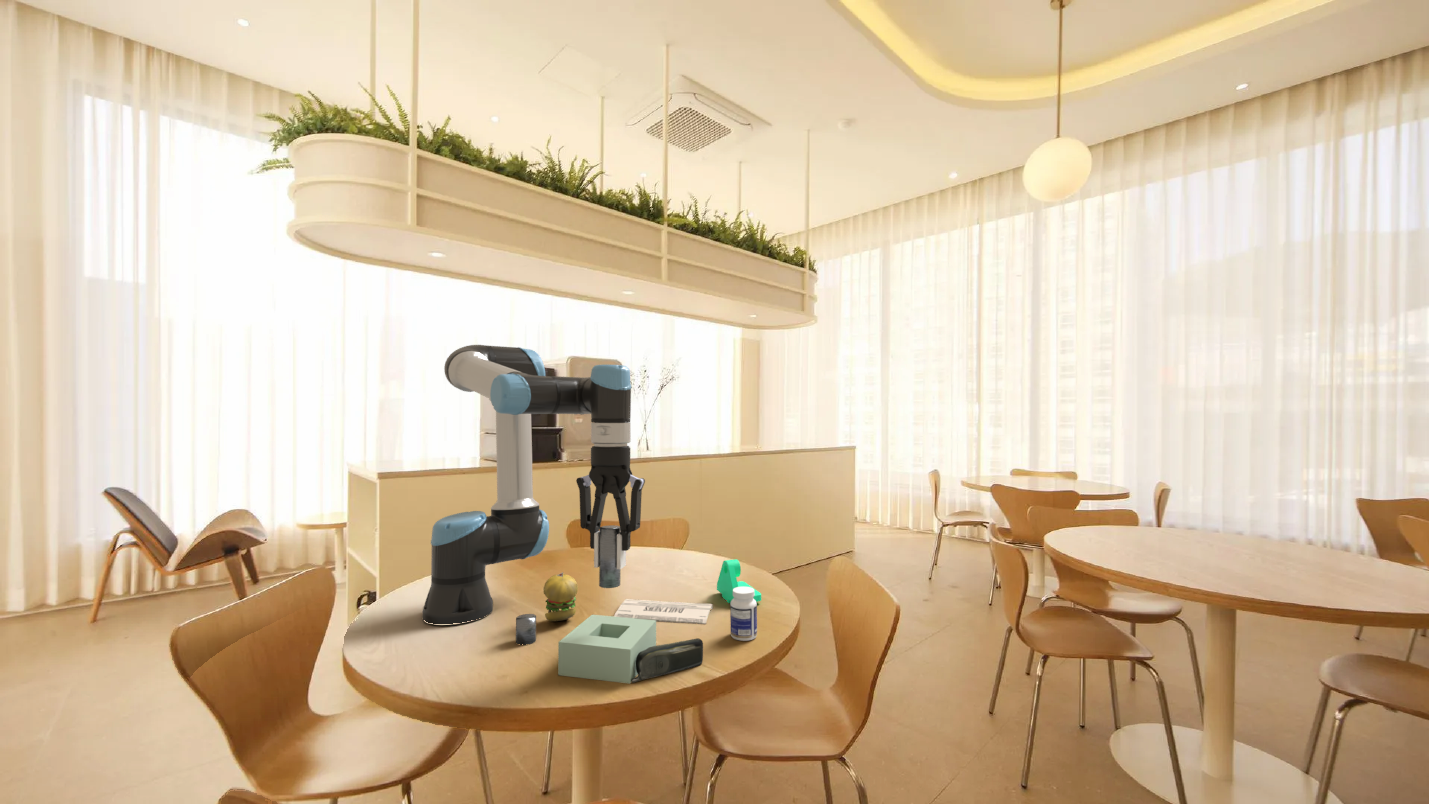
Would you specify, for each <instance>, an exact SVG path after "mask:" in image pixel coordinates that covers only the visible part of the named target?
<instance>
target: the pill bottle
mask: <svg viewBox="0 0 1429 804" xmlns="http://www.w3.org/2000/svg"><path fill="white" fill-rule="evenodd" d="M751 587H752V586H751ZM751 587H736V588H734V589H733V597H734V599H732V601H731V603H730V604H729V605H730V608H729V609H730V613H729V614H730V617H729V618H730V621H729V622H730V636H731V638H732V639H734V640H736V641H742V642H748V641H752V640H754V639H756V637H757V636H758V605H757V604H758V603H757V602H756V601H755V599H753V597H754V596H755V593H754V589H755V588H754V587H753V588H754V589H753V588H751Z"/></svg>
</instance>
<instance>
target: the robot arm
mask: <svg viewBox="0 0 1429 804" xmlns="http://www.w3.org/2000/svg"><path fill="white" fill-rule="evenodd" d="M542 359H543V358H542V357H541V356H540V355H539V353H537V351H536V350H533V349H529V348H522V347H519V346H518V347H514V346H513V347H512V346H500V345H499V346H498V345H497V346H496V345H487V344H486V345H485V344H470V345H465V346H463V347H459V348H457V349H455V350H454V351H453V352H452V353H450V354H449V355H448V357H447V358H446V360H445V363H444V368H443V369H444V375H445V378H446V380H447V381H448V383H449V384H450V385H452V386H453V387H454V388H456V389H458V390H460V391H462V392H466V393H471V392H475V393H477V394H479V395H481V396H483V397H485V398H487V399H488V400H489V402H491V403H490V404H491V405H492V406H493V409H494V411H495V437H496V438H495V440H496V441H495V444H496V445H495V446H496V447H495V448H496V451H495V452H496V489H497V490H496V493H497V494H496V496H497V500H496V502H495V503H494V504H493V505H491V507H490V515H488V516H487V515H486V512H484V511H481V510H473V511H463V512H458V513H454V514H451V515H447V516H445V517H442V518H440V519H438V520H437V521H436V522H435V523H434V524H433V525H432V531H431V540H430V545H431V574H430V575H431V577H430V579H431V582H430V583H431V584H430V587H429V590H428V593H427V596H426V599H425V602H424V605H423V607H422V616H421V617H422V618H423V620H425V621H426V622H428V623H433V624H453V623H462V622H467V621H471V620H476V619H479V618H482V619H484V618H485V617H484V616H486V615H488V616H489V615H490V614H491V613H492V612H493V610H494V604H493V603H494V602H493V597H492V596H491V595H492V594H491V592H490V588H489V585H488V583H487V580H486V567H487V566H489V565H495V564H499V563H500V564H501V563H504V562H510V561H515V560H526V559H527V558H531V557H535V556H537V555H540V553H541V552H542V551H544V548H545V547H546V545H547V542H548V539H549V536H550V535H549V533H550V521H549V520H548V515H547V512H545V510H543V509H540V502H538V501H537V500H535V498H534V491H533V489H534V488H533V483H534V482H533V446H532V445H533V442H532V440H533V439H532V438H533V437H532V434H533V433H532V415H537V414H538V415H539V414H540V415H542V414H543V415H544V414H545V415H590V427H591V428H590V442H591V444H593V446H591V447H590V467H591V469H590V470H589V472H588V474H587V475H585V476H580V477H577V478H576V481H575V482H576V485H577V487H578V490H579V520H580V521H579V523H580V528H581V529H585V530H587V531H588V532H589V547H590V549H593V564H594V565H593V568H597V569H599V541H600V527H602V526H601V524H602V519H603V515H604V510H605V505H606V499H607V497H608V494H612V496H613V497H612V498H613V499H614V501H615V508H616V512H617V517H618V523H619V526H620V530H621V532H619V534H617V569H620V570H621V569H623V568H625V566H627V551H629V550H630V548H631V533H632V532H635V531H636V530H638V529H640V527H641V514H642V513H641V511H642V495H643V493H642V492H643V491H642V490H643V488H644V486H645V483H646V479H644V478H643V477H641V478H639V477H637V476H635V475H633V472H632V470H631V446H629V445H628V444H630V443H631V410H632V409H631V408H632V407H631V403H632V383H631V370H630V368H629V367H628V366H626V365H622V364H596V365H594V366H593V367H592V369H591V372H590V373H591V374H590V377H589V376H588V377H579V376H578V377H577V376H576V377H575V376H556V375H555V376H554V375H546V369H545V368H546V367H545V365H544V362H543V360H542ZM629 482H630V488H631V491H630V510H629V509H628V502H627V498H626V497H627V491H626V487H627V485H628V484H629ZM592 484H593V485H594V487H595V492H594V502H593V507H592V490H591V489H592V488H591V485H592ZM629 511H630V512H629ZM629 513H630V514H629ZM483 617H484V618H483ZM486 617H487V616H486ZM422 618H421V619H422ZM423 620H422V621H423ZM479 620H480V619H479ZM476 621H477V620H476Z"/></svg>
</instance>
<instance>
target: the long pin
mask: <svg viewBox="0 0 1429 804" xmlns="http://www.w3.org/2000/svg"><path fill="white" fill-rule="evenodd" d="M599 531H600V541H599V567H598V570H599V571H598V572H599V573H598V577H599V578H598V580H599V581H598V586H599V587H600V588H601V589H603V588H604V589H614V588H618V587H620V586H621V569H617V534H619V532H621V530H620V525H615V524H614V525H602V526H600V529H599Z"/></svg>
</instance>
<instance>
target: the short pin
mask: <svg viewBox="0 0 1429 804" xmlns="http://www.w3.org/2000/svg"><path fill="white" fill-rule="evenodd" d="M536 642H537V615H536V614H534V613H525V614H524V613H522V614H520V615H518V616H516V617H515V644H516V643H517V644H520V645H519V646H527V645H526V644H529V645H531V644H534V643H536ZM517 644H516V645H517ZM522 644H523V645H522Z"/></svg>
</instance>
